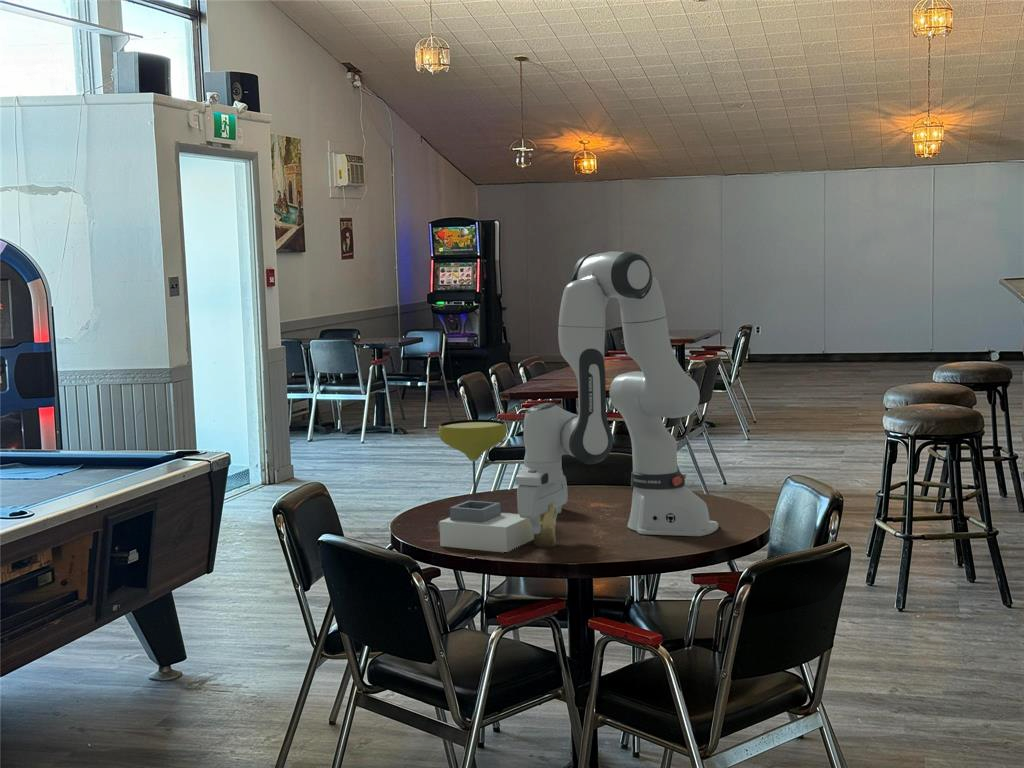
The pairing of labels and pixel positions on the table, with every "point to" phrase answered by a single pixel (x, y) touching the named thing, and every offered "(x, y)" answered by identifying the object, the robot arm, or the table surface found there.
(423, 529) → the table surface
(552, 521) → the spout can
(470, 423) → the cocktail glass
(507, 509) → the table surface
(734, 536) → the table surface
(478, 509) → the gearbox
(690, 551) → the table surface
